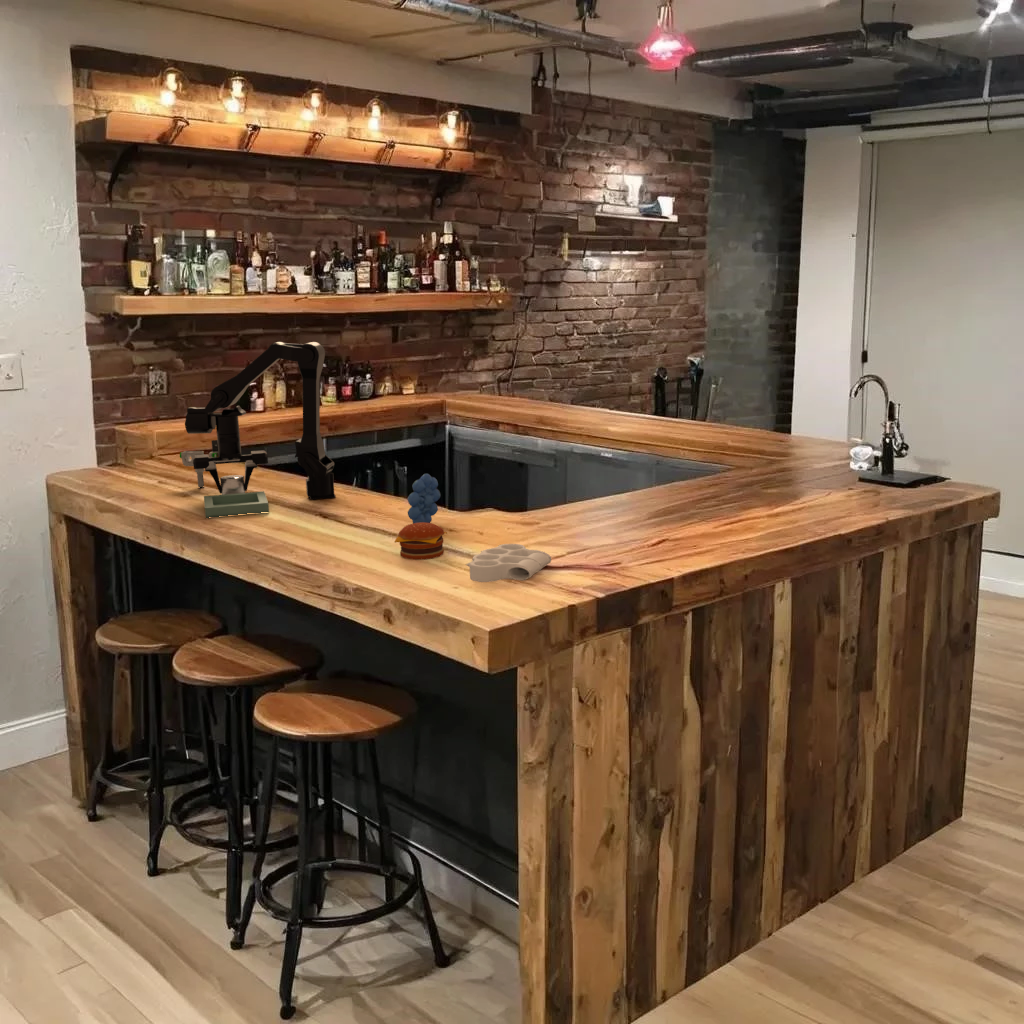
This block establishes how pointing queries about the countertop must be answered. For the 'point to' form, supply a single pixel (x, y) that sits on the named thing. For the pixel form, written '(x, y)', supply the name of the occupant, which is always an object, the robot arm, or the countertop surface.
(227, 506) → the socket frame
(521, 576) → the multi-hole tube bracket
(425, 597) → the countertop surface
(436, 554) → the hamburger
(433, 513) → the grapes
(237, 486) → the silver rounded cylinder
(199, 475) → the mechanical component
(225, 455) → the robot arm
